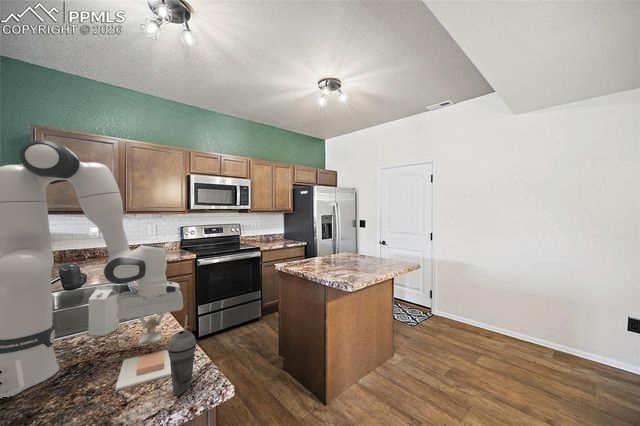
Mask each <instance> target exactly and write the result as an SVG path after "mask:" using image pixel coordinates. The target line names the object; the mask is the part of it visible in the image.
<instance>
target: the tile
mask: <svg viewBox="0 0 640 426" xmlns="http://www.w3.org/2000/svg"><path fill="white" fill-rule="evenodd" d="M164 350H165V349H164ZM164 350H159V351H155V352H151V353H146V354H142V355H139V359H138V365H137V375H141V374H145V373H149V372H152V371H156V370H160V369H163V368H164Z"/></svg>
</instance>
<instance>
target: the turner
mask: <svg viewBox="0 0 640 426" xmlns="http://www.w3.org/2000/svg"><path fill="white" fill-rule="evenodd" d="M156 320H157V315H155V316H149V317H148V320H147V321H148V326H147V330H146V332H147V333H143V334H140V338H139V342H138V343H139V345H144V344H150V343H156V342H161V341H162V330H159V331H157V329H156V328H157V326H156Z"/></svg>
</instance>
